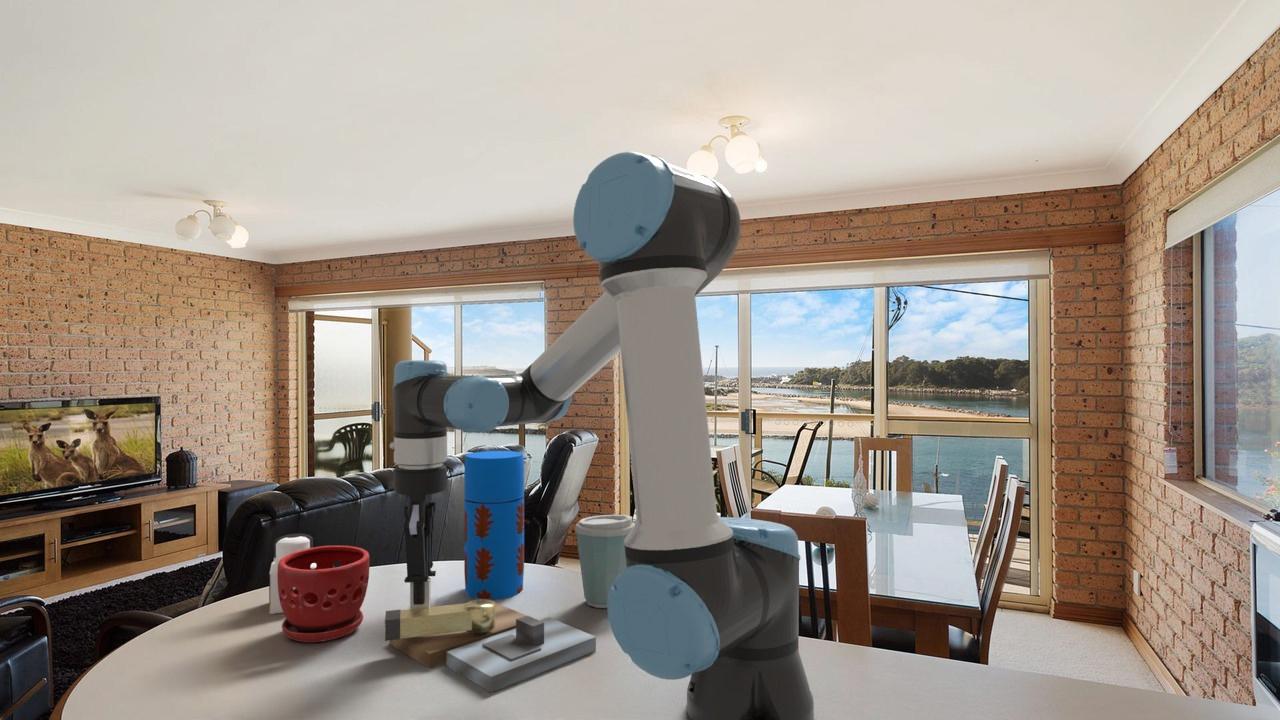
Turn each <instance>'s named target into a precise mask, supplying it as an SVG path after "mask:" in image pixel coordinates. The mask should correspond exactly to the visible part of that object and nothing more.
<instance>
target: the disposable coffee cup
mask: <svg viewBox="0 0 1280 720" xmlns="http://www.w3.org/2000/svg"><path fill="white" fill-rule="evenodd" d="M635 525H636V523H635V522H633V516H631V515H629V514H628V515H627V514H603V515H602V514H601V515H594V516H588V517H587V516H586V517H585V518H581V519H580V520H579V521H577V523H576V524H575V529H574V531H575V534H576V540H577V541H576V543H577V551H578V558H579V565H580V573H581V579H582V587H583V596H584V599H585V602H586V604H587V605H588V606H590V607H593V608H598V609H607V600H608V593H609V590H610V587H611V586H612V585H613V584H614V583H615V582H614V581H615V579H616V577H617V576H618V575H619V574H620V572H621V571H624V570H625V569H626V559H625V546H624V539H625V538H626V537H627V535H628V534H629V533H630V531H631V530H632V529H633V528H634V526H635Z"/></svg>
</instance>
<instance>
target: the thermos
mask: <svg viewBox="0 0 1280 720" xmlns="http://www.w3.org/2000/svg"><path fill="white" fill-rule="evenodd" d="M524 459H525V458H524V453H523V452H519V451H513V450H509V451H508V450H490V451H489V450H488V451H487V450H486V451H477V452H471V453H467V454H466V455H465V459H464V465H463V467H464V479H463V480H464V487H463V488H464V489H463V491H464V504H463V505H464V511H463V512H464V516H463V517H464V519H463V520H464V524H463V525H464V532H463V533H464V537H463V539H464V541H463V542H464V543H463V544H464V546H463V547H464V554H463V556H464V557H463V558H464V569H463V570H464V586H465V587H464V589H465V593H466V595H467V596H468V597H470V598H474V599H477V600H479V599H488V600H498V599H505V598H510V597H514V596H516V595H518V594H520V593H521V592H522V591H523V590H524V576H525V575H524V574H525V573H524V571H525V460H524Z"/></svg>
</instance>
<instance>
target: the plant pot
mask: <svg viewBox="0 0 1280 720" xmlns="http://www.w3.org/2000/svg"><path fill="white" fill-rule="evenodd" d="M337 562H339V563H340V566H337V567H335V563H337ZM312 563H316V568H314V569H311V567H310V566H311V564H312ZM277 578H278V594H279V600H280V604H281V607H282V610H283V612H284V613H283V615H284V616H285V619H284V620H283V622H282V624H281V629H282V632H283V633H284V635H285V636H286V637H287V638H289V639H291V640H294V641H296V642H298V641H299V642H304V643H319V642H320V643H321V642H326V641H331V640H336V639H339V638H342V637H345V636H347V635H349V634H351V633H352V632H354V631H355V630H356V629H358V627H360V625H361V624H362V622H363V620H364V614H363V612H362V610H361V607H362V605H363V603H364V601H365V597H366V594H367V590H368V586H369V578H370V553H369V552H368V551H367V550H365V549H364V548H361V547H358V546H351V545H321V546H316V547H314V546H313V548H308V549H304V550H300V551H296V552H293V553H291V554H288V555H286V556H284V557H283V558H282V559H280V561H279V563H278V573H277ZM293 587H295V589H294V590H293Z"/></svg>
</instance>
